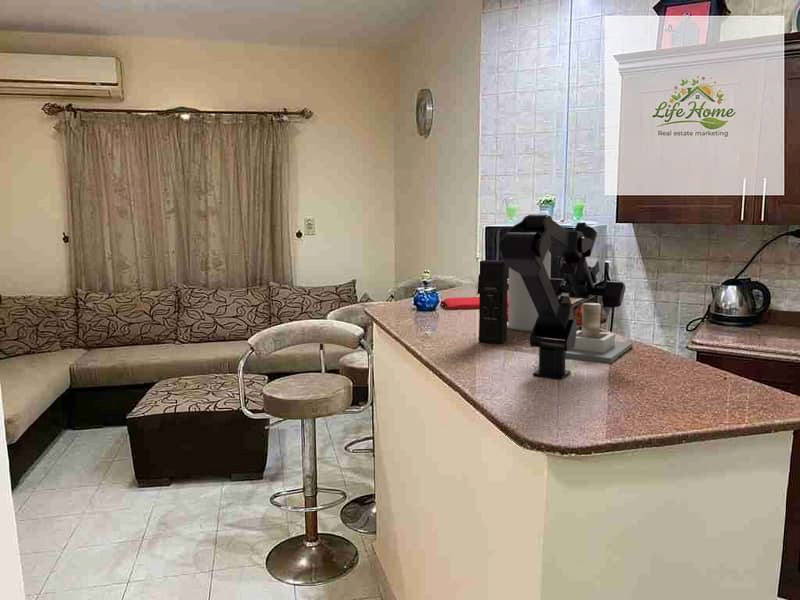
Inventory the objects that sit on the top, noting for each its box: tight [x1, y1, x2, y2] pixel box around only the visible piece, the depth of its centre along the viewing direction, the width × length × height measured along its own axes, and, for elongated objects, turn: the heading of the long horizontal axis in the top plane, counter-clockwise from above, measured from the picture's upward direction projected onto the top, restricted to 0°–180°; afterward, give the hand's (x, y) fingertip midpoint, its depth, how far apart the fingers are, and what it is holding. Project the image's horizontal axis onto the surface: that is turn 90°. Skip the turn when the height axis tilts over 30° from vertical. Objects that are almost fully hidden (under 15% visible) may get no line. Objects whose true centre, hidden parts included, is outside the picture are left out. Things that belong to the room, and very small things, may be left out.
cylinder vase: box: [507, 249, 552, 332], centre depth 187 cm, size 12×12×25 cm
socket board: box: [566, 329, 634, 364], centre depth 156 cm, size 20×16×4 cm
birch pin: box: [581, 302, 602, 339], centre depth 155 cm, size 4×4×11 cm
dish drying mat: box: [440, 295, 509, 311], centre depth 236 cm, size 16×41×4 cm, turn 97°
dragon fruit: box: [574, 303, 607, 327], centre depth 186 cm, size 8×8×12 cm
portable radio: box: [477, 259, 509, 345], centre depth 168 cm, size 8×6×25 cm
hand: (590, 312), depth 154 cm, fingers open, 9 cm apart
